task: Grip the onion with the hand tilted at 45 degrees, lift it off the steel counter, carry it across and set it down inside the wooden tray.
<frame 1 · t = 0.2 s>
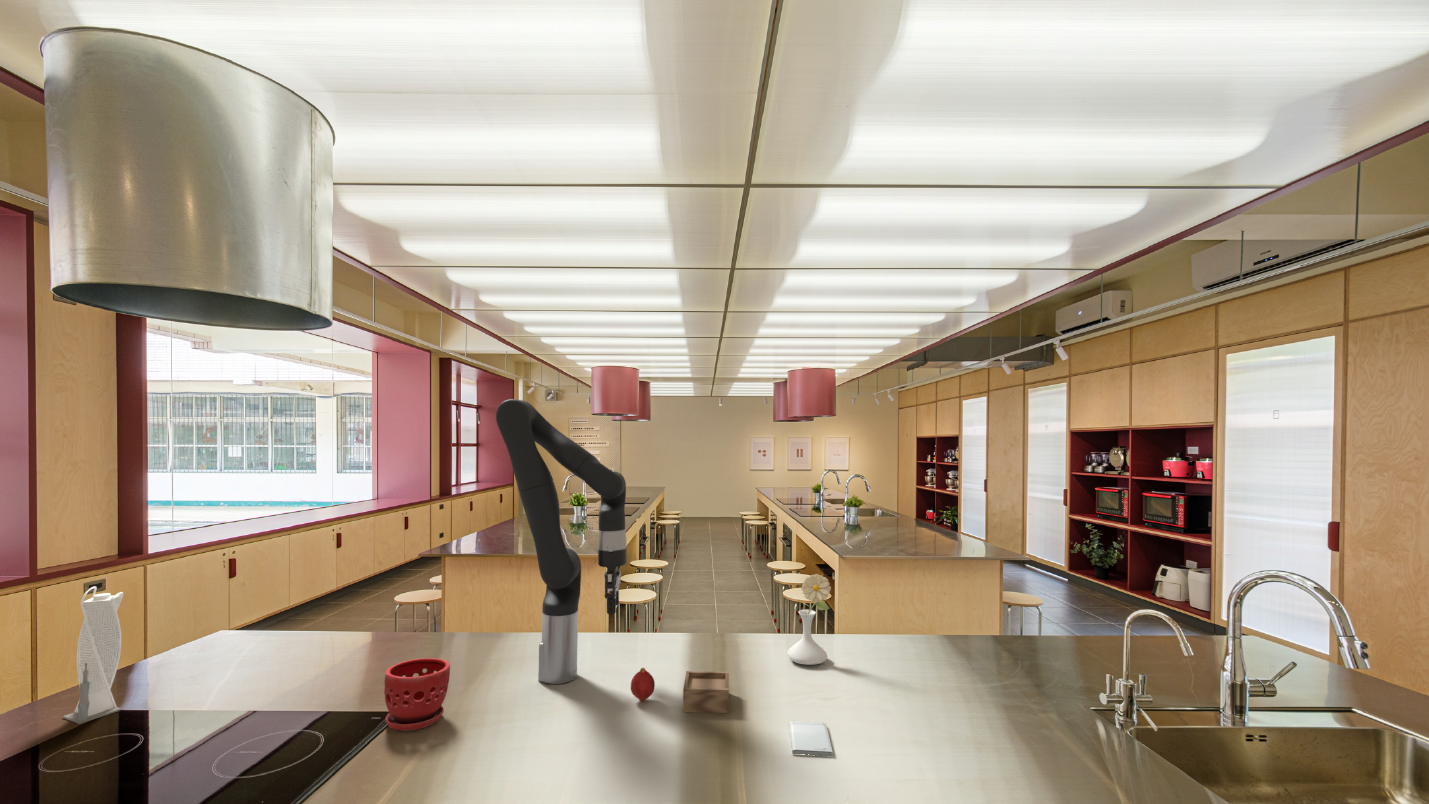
hand: (613, 609, 159), 18 cm above the countertop, tool pointing down, fingers open, 8 cm apart
flower in vase: (809, 662, 171), on the countertop
hard drive: (809, 743, 127), on the countertop
skyscraper: (93, 713, 137), on the countertop
onion: (642, 702, 145), on the countertop
plant pot: (416, 722, 134), on the countertop
wooden tray: (706, 702, 145), on the countertop
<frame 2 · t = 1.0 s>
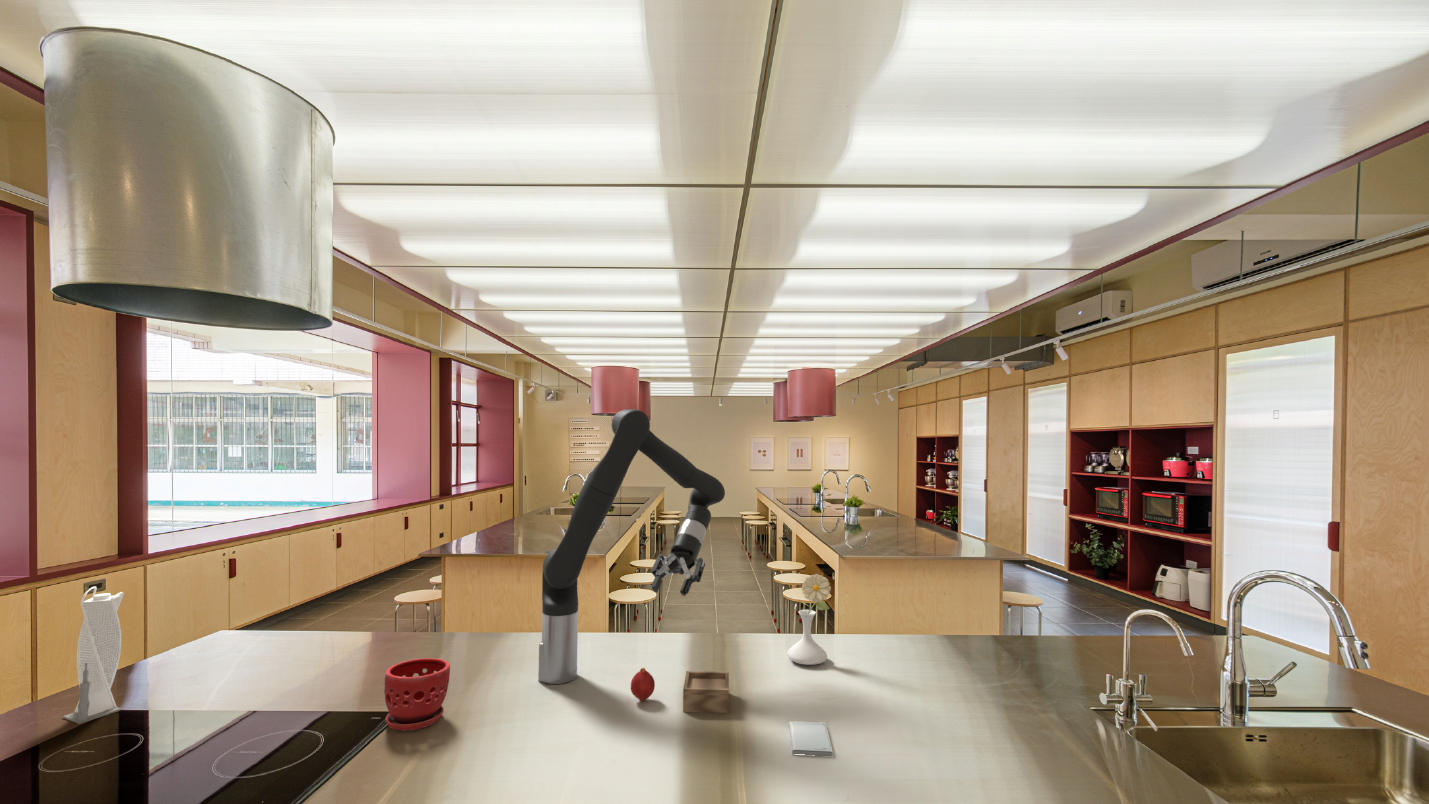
hand: (668, 592, 156), 23 cm above the countertop, tool tilted 45°, fingers open, 8 cm apart
nothing on the countertop moved.
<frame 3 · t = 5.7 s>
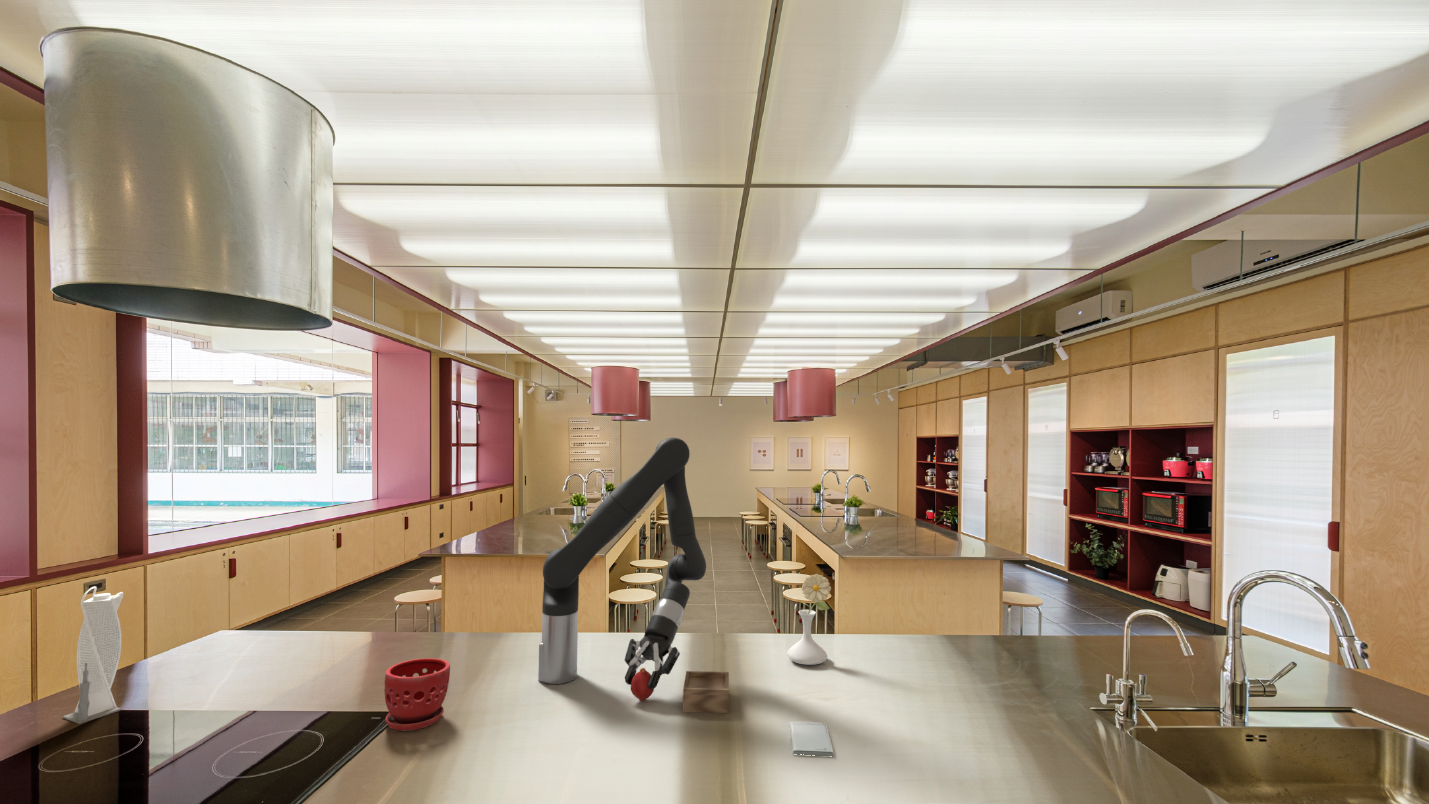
hand: (638, 685, 144), 4 cm above the countertop, tool tilted 45°, fingers closed on onion, 5 cm apart
onion: (642, 701, 145), on the countertop, touching gripper
everything else where it was.
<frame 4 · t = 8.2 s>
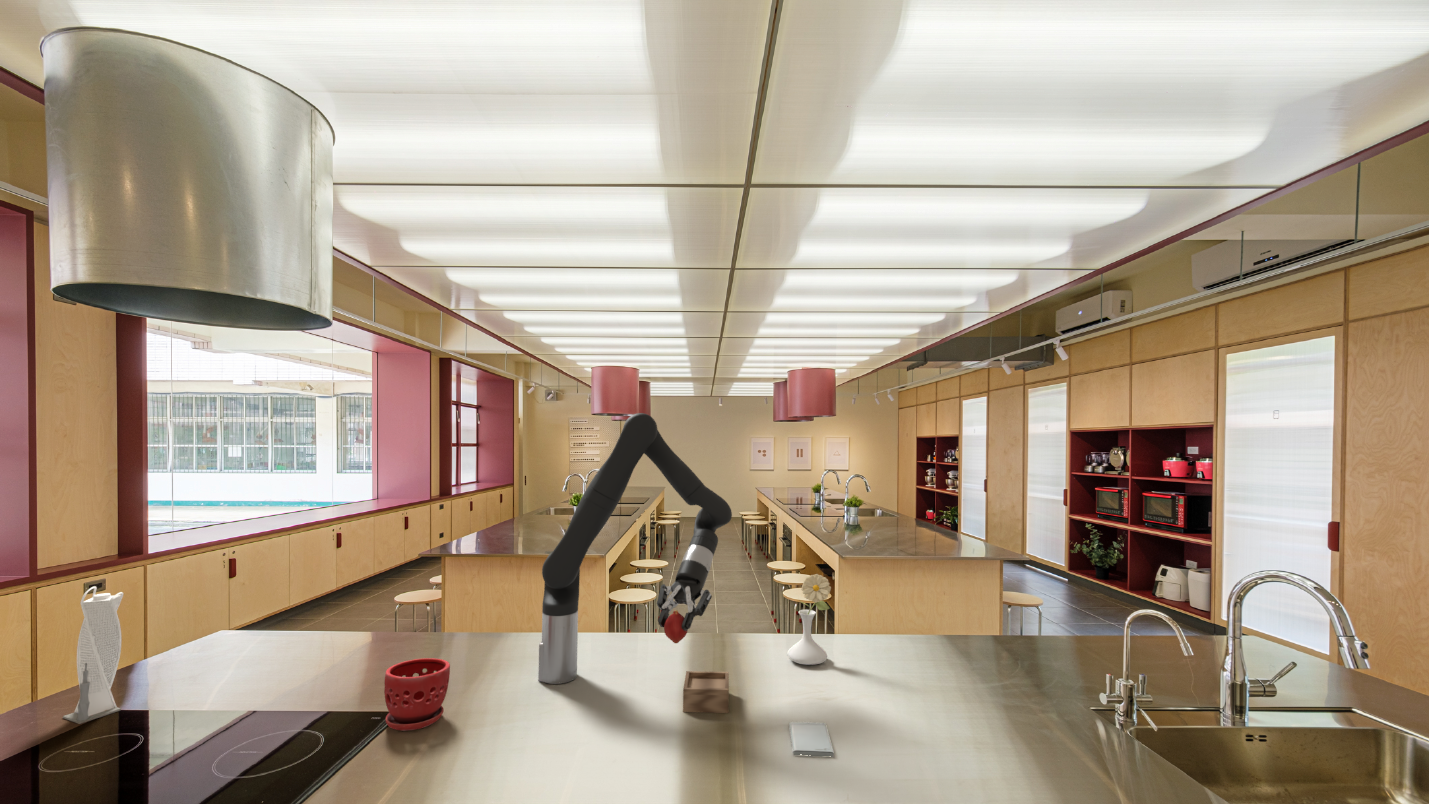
hand: (672, 627, 145), 18 cm above the countertop, tool tilted 45°, fingers closed on onion, 5 cm apart
onion: (676, 643, 146), point 14 cm above the countertop, touching gripper
everything else where it was.
when the fingers open (10 cm above the countertop, at t = 10.8 s): onion drops 1 cm, resting on wooden tray.
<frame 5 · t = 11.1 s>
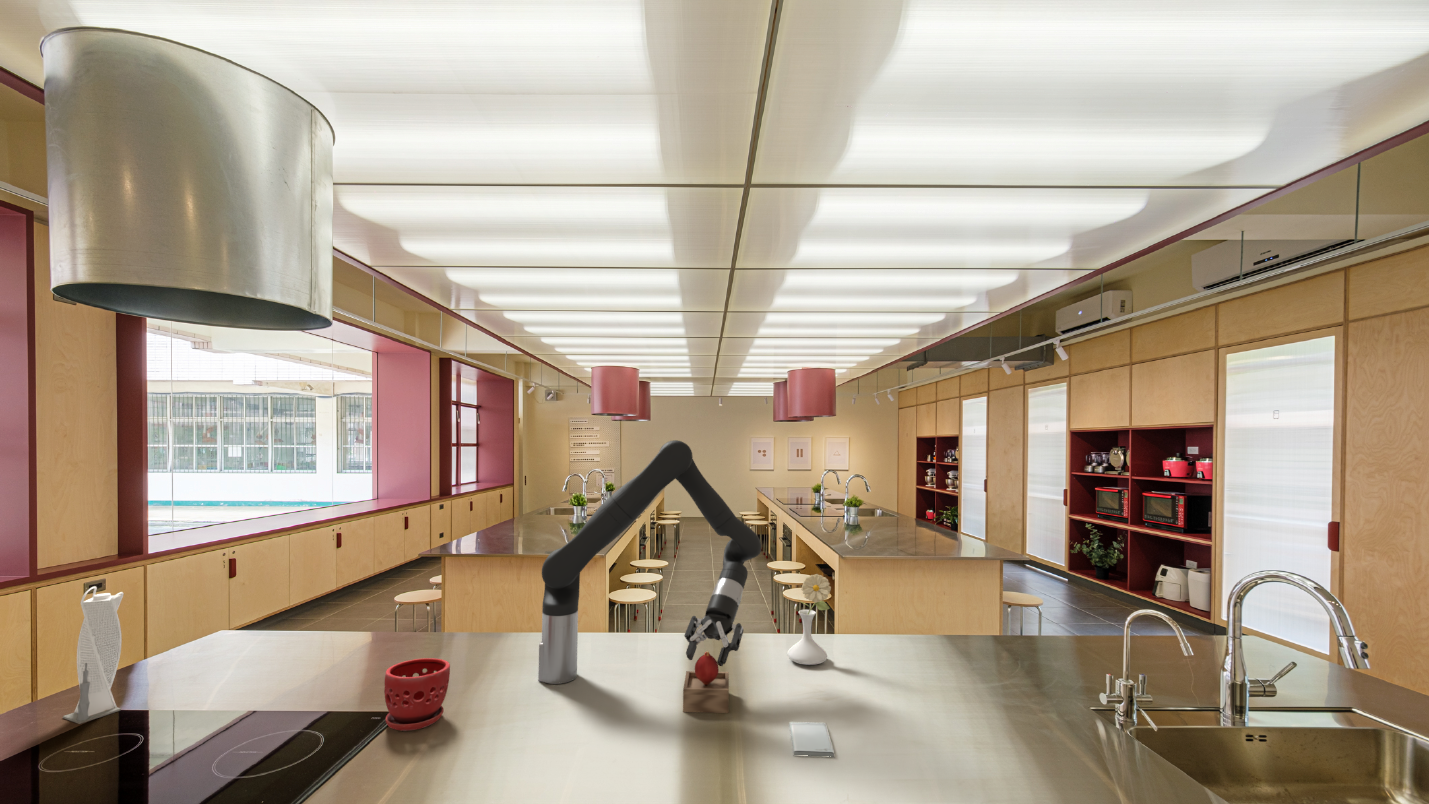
hand: (704, 661, 144), 10 cm above the countertop, tool tilted 45°, fingers open, 8 cm apart
onion: (706, 685, 145), point 4 cm above the countertop, touching wooden tray
everything else where it was.
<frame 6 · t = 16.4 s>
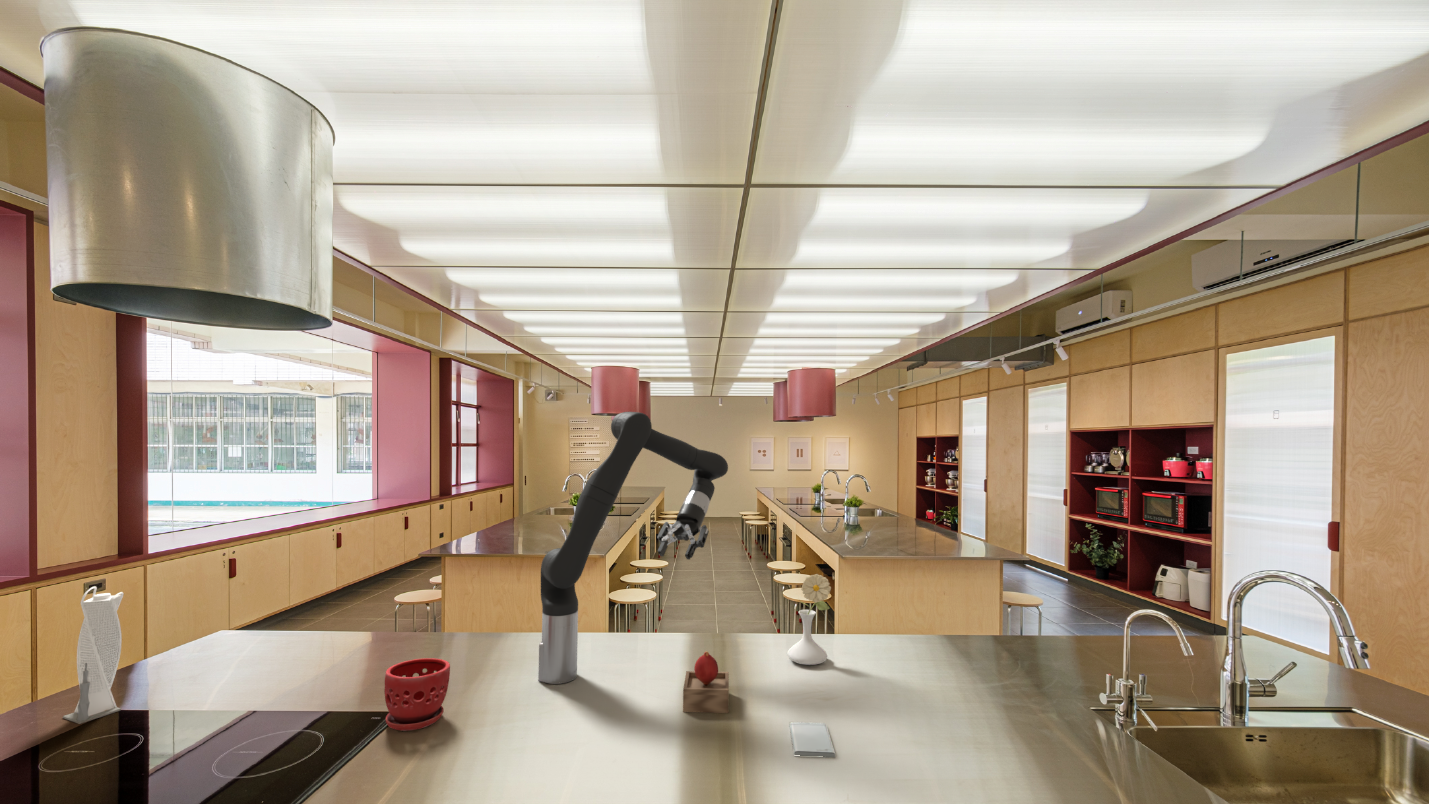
hand: (673, 556, 166), 31 cm above the countertop, tool tilted 45°, fingers open, 8 cm apart
nothing on the countertop moved.
at the end: onion inside the target area on the wooden tray (0.3 cm from its centre), point 3.8 cm above the wooden tray's base; the gripper is holding nothing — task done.
